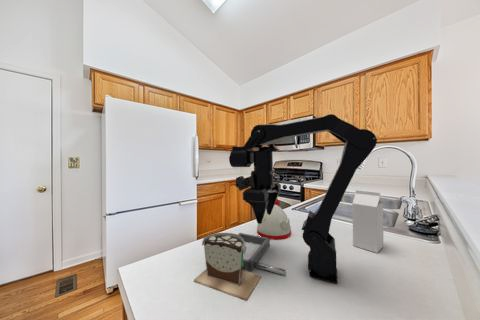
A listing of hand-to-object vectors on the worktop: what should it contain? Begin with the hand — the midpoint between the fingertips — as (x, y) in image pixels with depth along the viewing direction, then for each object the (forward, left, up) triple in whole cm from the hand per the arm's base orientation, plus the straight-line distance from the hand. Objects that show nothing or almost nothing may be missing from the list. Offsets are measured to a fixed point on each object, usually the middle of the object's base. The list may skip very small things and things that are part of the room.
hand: (264, 218), depth 56 cm
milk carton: (-29, -24, -13) cm, 40 cm away
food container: (+7, +11, -13) cm, 18 cm away
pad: (+6, +12, -13) cm, 19 cm away
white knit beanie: (+4, -22, -13) cm, 26 cm away
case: (+8, -2, -13) cm, 15 cm away
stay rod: (-2, +4, -13) cm, 14 cm away
